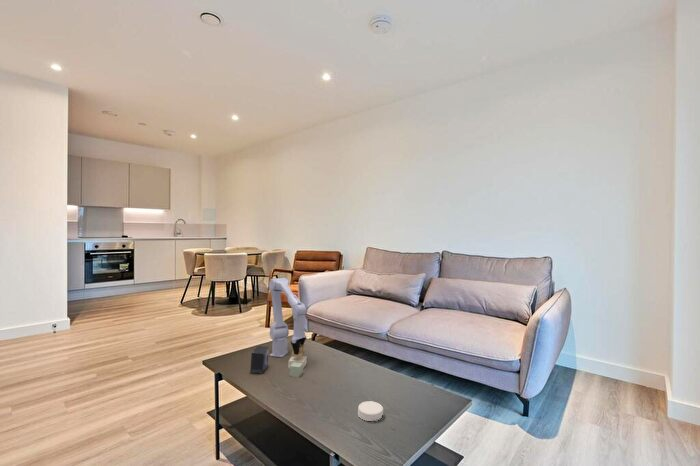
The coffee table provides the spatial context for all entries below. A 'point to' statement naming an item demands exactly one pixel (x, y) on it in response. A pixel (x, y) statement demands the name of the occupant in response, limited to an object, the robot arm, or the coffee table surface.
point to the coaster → (370, 410)
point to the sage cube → (296, 369)
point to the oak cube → (301, 352)
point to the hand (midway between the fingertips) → (298, 352)
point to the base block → (297, 361)
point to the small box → (259, 359)
